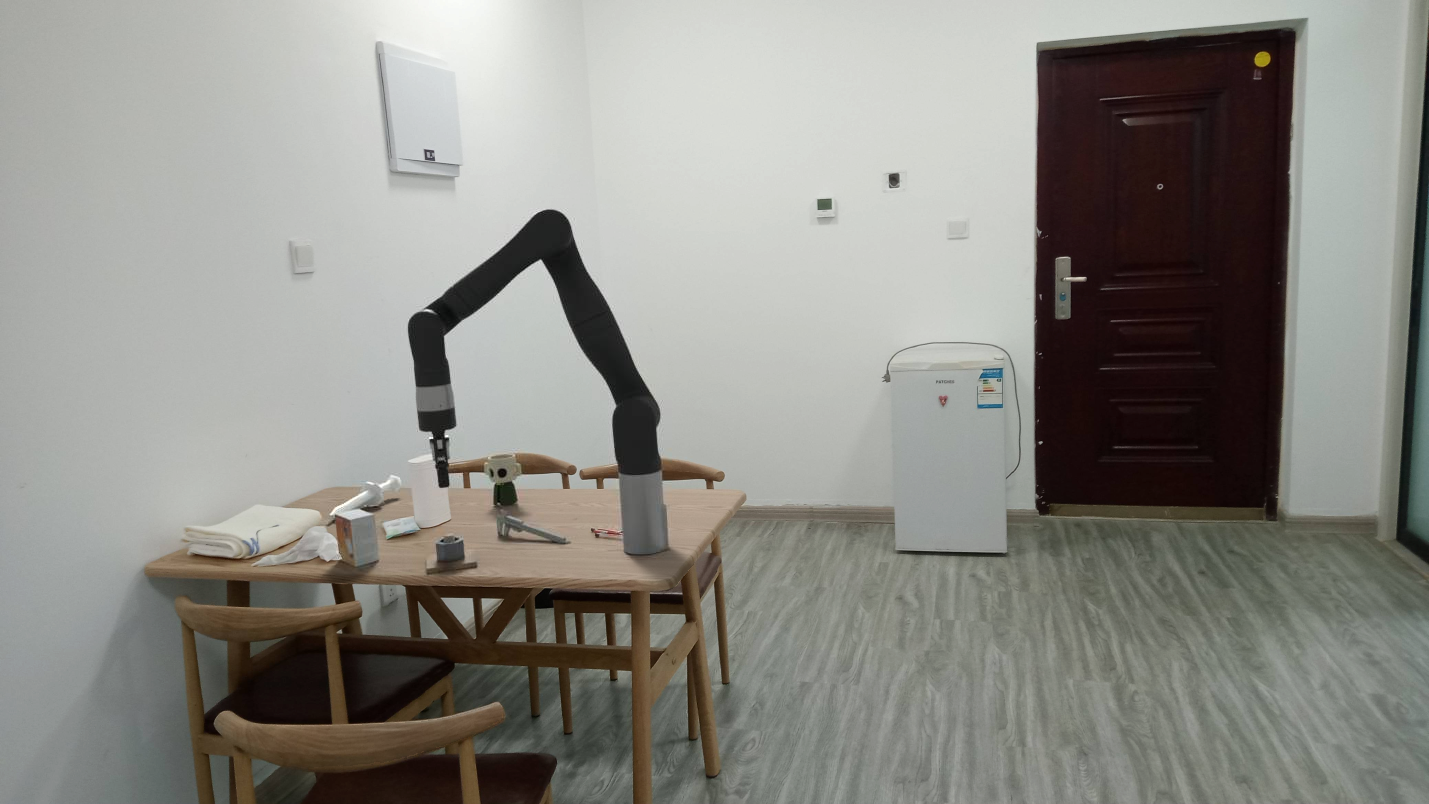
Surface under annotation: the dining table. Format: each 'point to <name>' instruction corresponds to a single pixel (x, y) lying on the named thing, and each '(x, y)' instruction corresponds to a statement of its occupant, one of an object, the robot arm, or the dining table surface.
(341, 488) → the dining table surface
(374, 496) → the dagger
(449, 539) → the inverted t stand
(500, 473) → the character mug
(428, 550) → the dining table surface
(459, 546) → the collar ring
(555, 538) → the caliper
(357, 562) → the small box
